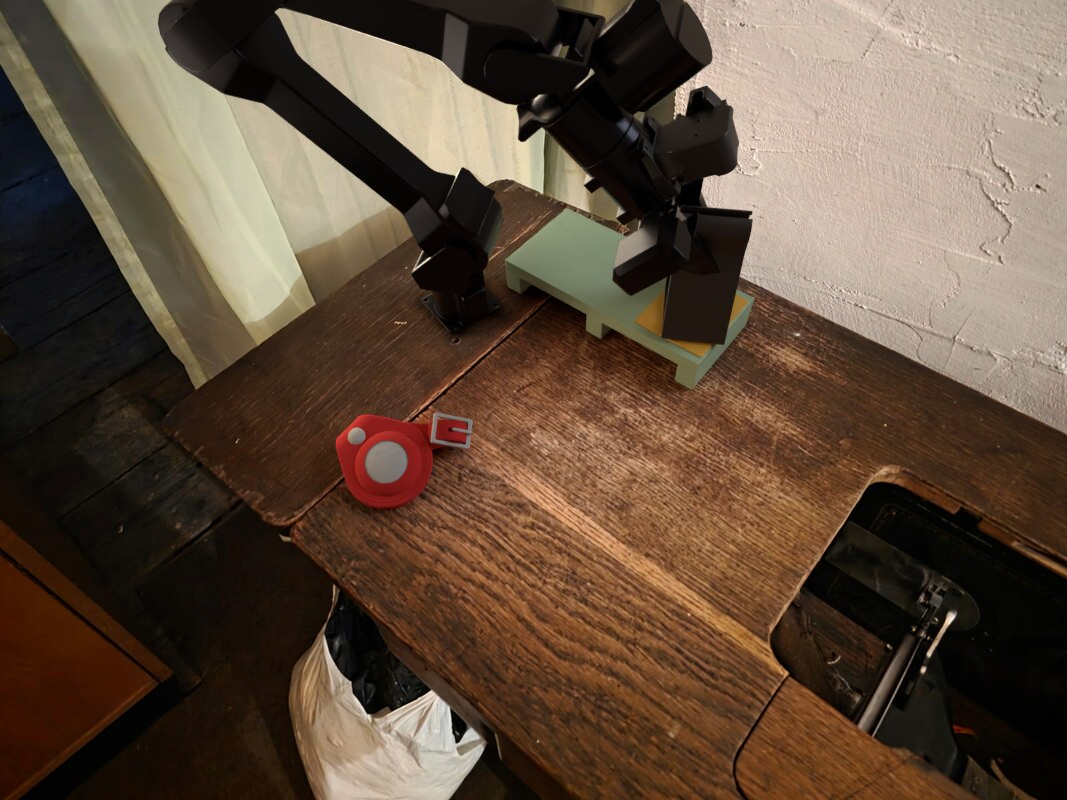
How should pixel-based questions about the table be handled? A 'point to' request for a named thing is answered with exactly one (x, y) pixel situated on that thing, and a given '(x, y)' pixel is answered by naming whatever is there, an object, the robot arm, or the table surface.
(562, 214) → the shoe shelf
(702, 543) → the table surface
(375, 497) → the red tape measure
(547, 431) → the table surface
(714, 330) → the phone stand
